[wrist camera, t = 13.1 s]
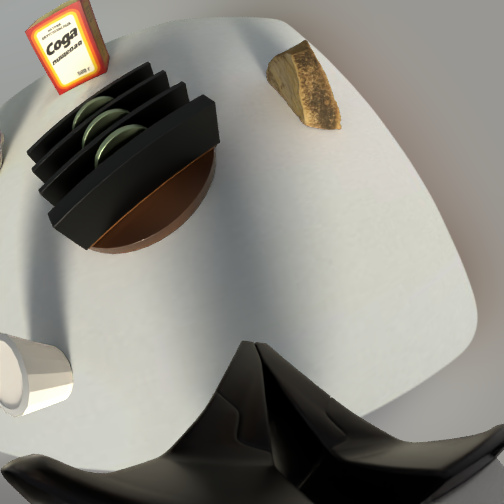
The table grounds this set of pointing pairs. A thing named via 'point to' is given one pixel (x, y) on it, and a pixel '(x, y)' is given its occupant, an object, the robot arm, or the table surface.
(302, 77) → the rock
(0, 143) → the paper bowls
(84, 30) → the baking soda box
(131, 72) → the dish rack
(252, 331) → the table surface
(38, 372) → the white faceted cup
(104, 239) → the base
